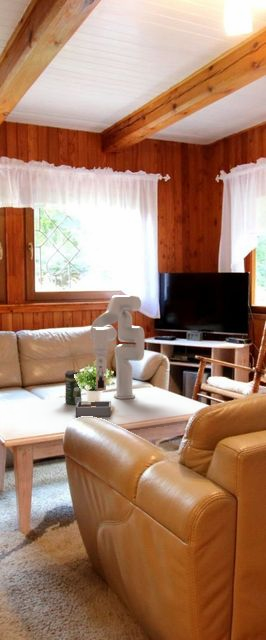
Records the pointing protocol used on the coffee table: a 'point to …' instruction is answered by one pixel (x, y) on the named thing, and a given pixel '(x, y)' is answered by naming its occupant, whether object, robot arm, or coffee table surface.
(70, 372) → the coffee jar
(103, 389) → the terracotta cylinder
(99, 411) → the tote
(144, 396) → the coffee table surface
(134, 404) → the coffee table surface
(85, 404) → the walnut cube
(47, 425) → the coffee table surface
